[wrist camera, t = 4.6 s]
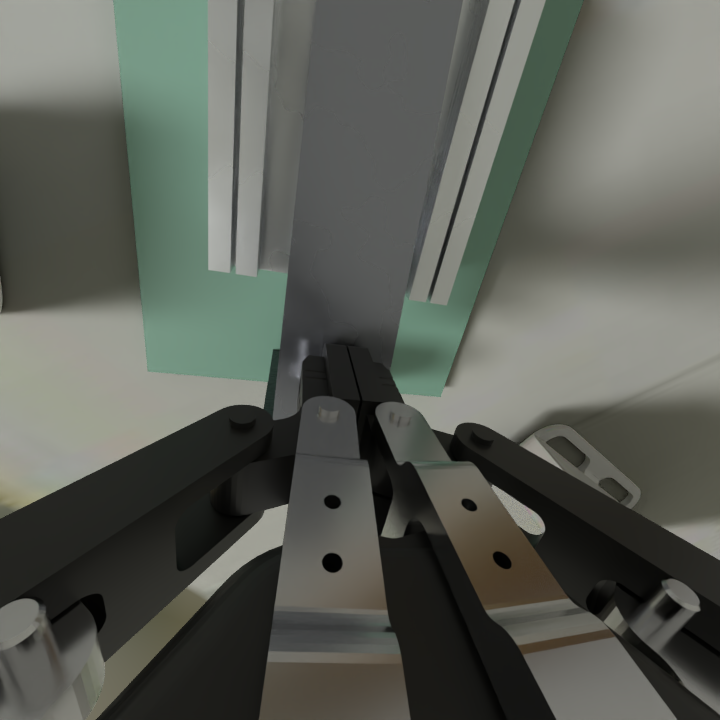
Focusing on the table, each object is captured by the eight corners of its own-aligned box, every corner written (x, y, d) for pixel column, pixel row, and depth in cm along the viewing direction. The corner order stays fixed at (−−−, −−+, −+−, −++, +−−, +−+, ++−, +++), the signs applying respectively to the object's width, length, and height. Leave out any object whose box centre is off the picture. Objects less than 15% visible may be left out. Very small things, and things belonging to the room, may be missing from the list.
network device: (656, 503, 40) (926, 761, 23) (592, 546, 43) (791, 807, 25) (535, 395, 29) (867, 724, 12) (459, 460, 32) (644, 810, 15)
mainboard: (88, -452, 10) (64, -520, 9) (628, -166, 15) (652, -191, 14) (154, 362, 23) (147, 371, 22) (435, 388, 28) (440, 396, 26)
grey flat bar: (347, -381, 8) (357, -499, 7) (511, -286, 9) (548, -376, 8) (266, 429, 14) (263, 448, 13) (372, 435, 15) (380, 453, 14)
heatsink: (251, -247, 12) (194, -710, 6) (511, -128, 14) (680, -365, 8) (231, 372, 23) (204, 451, 17) (378, 385, 25) (403, 459, 19)
